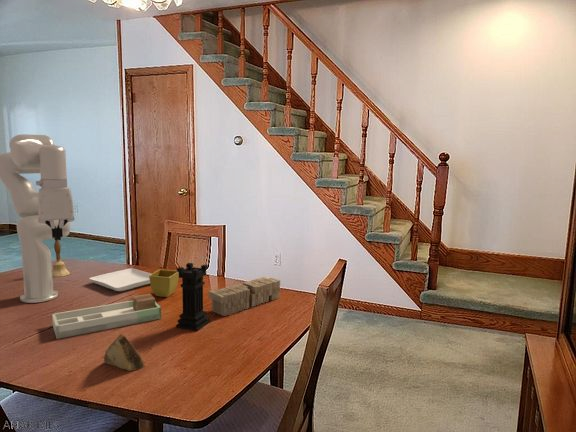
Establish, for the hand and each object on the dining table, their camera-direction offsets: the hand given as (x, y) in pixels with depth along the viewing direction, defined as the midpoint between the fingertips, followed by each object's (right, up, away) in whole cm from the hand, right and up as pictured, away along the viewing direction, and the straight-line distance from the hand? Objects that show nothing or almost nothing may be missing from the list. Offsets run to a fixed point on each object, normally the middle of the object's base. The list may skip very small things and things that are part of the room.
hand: (57, 239), depth 146 cm
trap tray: (+16, -28, +1) cm, 32 cm away
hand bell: (-26, -19, +52) cm, 61 cm away
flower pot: (+28, -24, +29) cm, 46 cm away
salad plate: (+7, -22, +41) cm, 47 cm away
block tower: (+60, -26, +21) cm, 69 cm away
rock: (+32, -33, -26) cm, 53 cm away
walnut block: (+26, -25, +7) cm, 37 cm away
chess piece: (+45, -29, +1) cm, 53 cm away
